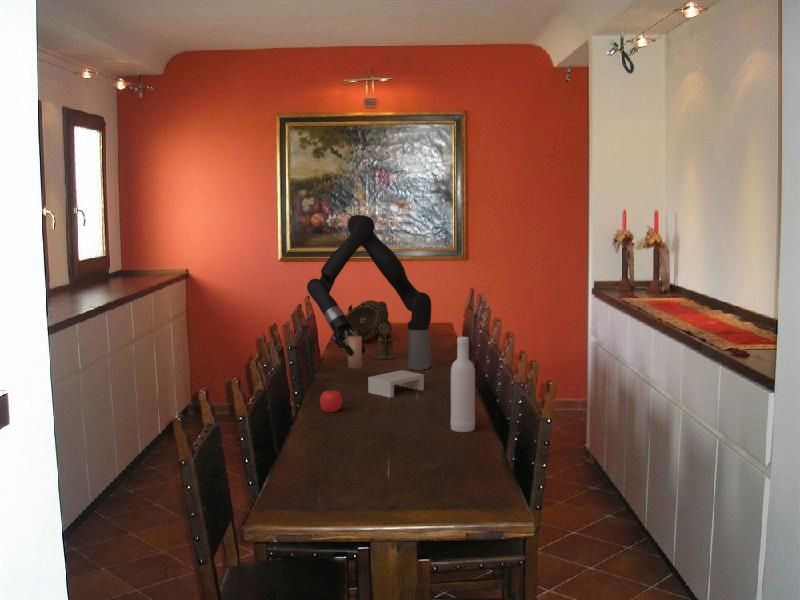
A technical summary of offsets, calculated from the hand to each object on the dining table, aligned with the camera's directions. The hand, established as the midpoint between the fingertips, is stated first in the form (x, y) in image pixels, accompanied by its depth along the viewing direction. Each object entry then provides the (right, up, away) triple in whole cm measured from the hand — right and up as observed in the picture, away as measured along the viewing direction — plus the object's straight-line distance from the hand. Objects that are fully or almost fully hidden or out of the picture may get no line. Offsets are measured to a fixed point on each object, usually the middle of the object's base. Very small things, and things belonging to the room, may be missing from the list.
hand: (358, 353), depth 348 cm
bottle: (+37, -21, -61) cm, 74 cm away
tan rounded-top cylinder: (-1, -5, +2) cm, 6 cm away
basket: (0, +1, +112) cm, 112 cm away
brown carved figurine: (+10, -6, +58) cm, 59 cm away
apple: (-8, -18, -36) cm, 41 cm away
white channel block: (+15, -14, -6) cm, 22 cm away
